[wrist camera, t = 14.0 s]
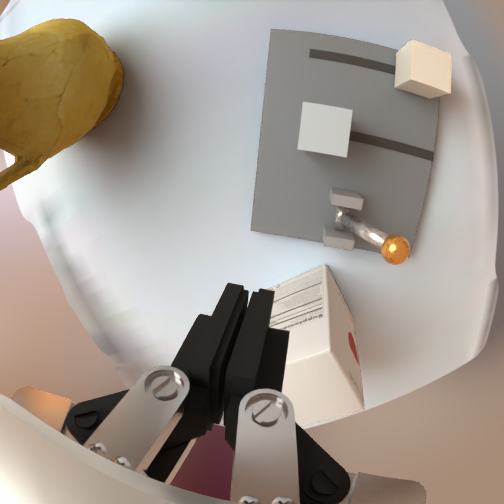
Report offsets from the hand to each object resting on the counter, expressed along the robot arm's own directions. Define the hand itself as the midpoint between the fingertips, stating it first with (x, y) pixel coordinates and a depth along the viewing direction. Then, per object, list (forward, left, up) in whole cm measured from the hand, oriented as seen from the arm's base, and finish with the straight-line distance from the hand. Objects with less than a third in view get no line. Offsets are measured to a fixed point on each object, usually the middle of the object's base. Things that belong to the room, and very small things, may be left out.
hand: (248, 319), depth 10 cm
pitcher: (-12, -29, -22) cm, 38 cm away
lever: (+1, +5, -19) cm, 20 cm away
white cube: (-7, +2, -20) cm, 22 cm away
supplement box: (+13, +4, -22) cm, 26 cm away
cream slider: (-15, +11, -20) cm, 28 cm away
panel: (-7, +5, -22) cm, 24 cm away
